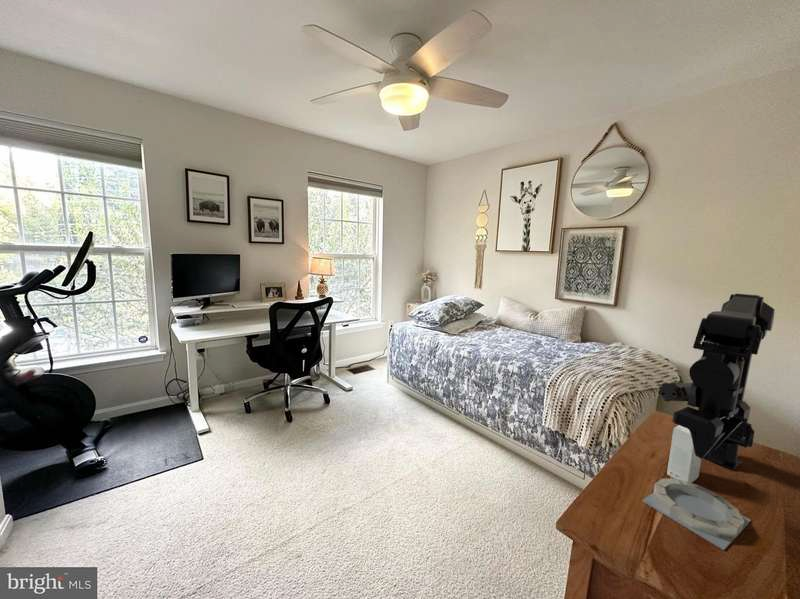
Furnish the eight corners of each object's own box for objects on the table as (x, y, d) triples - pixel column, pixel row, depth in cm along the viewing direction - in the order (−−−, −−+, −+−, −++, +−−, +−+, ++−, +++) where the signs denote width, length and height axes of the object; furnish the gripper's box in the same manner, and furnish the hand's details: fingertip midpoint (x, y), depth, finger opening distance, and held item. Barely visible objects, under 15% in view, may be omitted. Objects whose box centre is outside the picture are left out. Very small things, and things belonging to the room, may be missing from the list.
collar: (671, 479, 76) (672, 472, 76) (750, 520, 65) (752, 512, 64) (642, 499, 70) (643, 490, 69) (725, 548, 58) (727, 538, 58)
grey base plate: (672, 480, 76) (672, 479, 76) (750, 521, 65) (750, 519, 65) (641, 501, 69) (642, 500, 69) (723, 550, 58) (724, 549, 58)
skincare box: (688, 486, 75) (697, 437, 73) (665, 474, 78) (672, 427, 77) (699, 477, 78) (708, 430, 76) (676, 466, 82) (684, 421, 80)
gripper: (688, 360, 75) (677, 423, 77) (647, 372, 65) (636, 443, 68) (757, 377, 65) (742, 448, 67) (721, 394, 56) (706, 476, 58)
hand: (705, 452), depth 65 cm, fingers open, 5 cm apart
